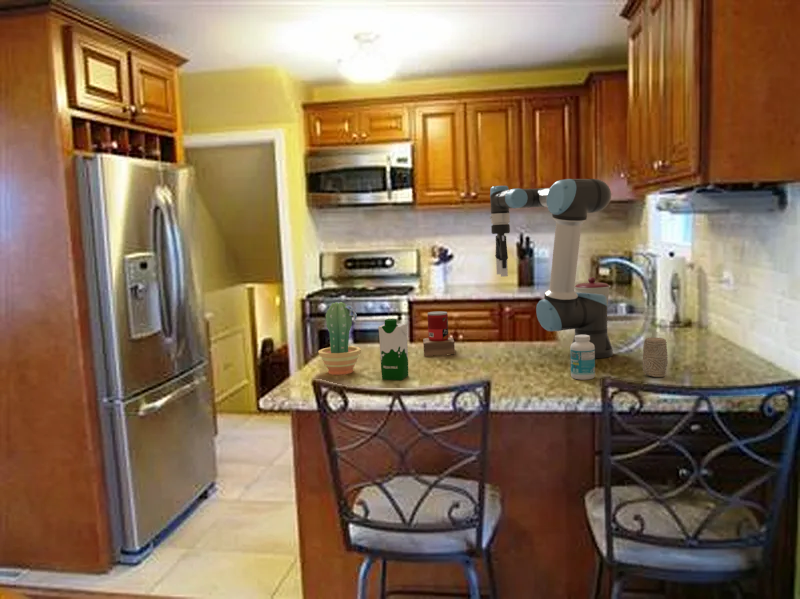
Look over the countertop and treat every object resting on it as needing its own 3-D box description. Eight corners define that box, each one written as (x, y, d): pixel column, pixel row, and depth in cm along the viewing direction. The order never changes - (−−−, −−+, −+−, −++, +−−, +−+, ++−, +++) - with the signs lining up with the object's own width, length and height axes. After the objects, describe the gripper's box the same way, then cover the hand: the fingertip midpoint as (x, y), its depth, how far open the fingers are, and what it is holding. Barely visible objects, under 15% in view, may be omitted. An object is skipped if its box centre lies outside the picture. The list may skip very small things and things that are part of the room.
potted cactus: (345, 378, 226) (341, 305, 224) (310, 374, 235) (305, 304, 232) (370, 369, 239) (367, 300, 237) (336, 366, 248) (332, 299, 245)
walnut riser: (454, 354, 259) (454, 341, 258) (424, 356, 259) (423, 343, 258) (453, 349, 271) (452, 336, 270) (423, 350, 271) (423, 338, 270)
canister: (609, 320, 328) (609, 278, 326) (572, 320, 335) (571, 279, 333) (612, 315, 345) (611, 275, 343) (576, 315, 352) (575, 276, 349)
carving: (671, 377, 205) (671, 339, 204) (648, 379, 205) (647, 340, 203) (662, 373, 212) (661, 336, 210) (639, 374, 211) (638, 337, 210)
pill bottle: (567, 375, 214) (566, 334, 213) (590, 374, 215) (589, 333, 213) (575, 381, 207) (574, 338, 205) (598, 379, 207) (598, 336, 206)
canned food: (447, 341, 260) (446, 313, 258) (427, 341, 261) (425, 314, 260) (449, 338, 267) (448, 311, 266) (430, 338, 269) (428, 311, 268)
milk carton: (378, 380, 221) (375, 320, 219) (387, 374, 229) (385, 317, 227) (403, 381, 218) (400, 320, 216) (412, 375, 226) (409, 317, 224)
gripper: (488, 224, 286) (489, 273, 288) (494, 224, 261) (496, 277, 264) (505, 223, 286) (506, 273, 288) (514, 223, 261) (515, 276, 263)
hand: (502, 275), depth 276 cm, fingers open, 13 cm apart
